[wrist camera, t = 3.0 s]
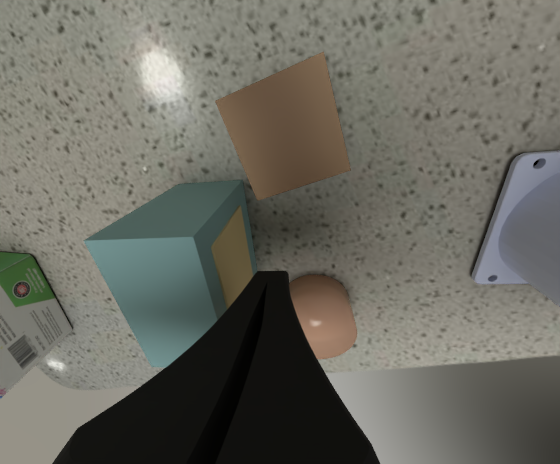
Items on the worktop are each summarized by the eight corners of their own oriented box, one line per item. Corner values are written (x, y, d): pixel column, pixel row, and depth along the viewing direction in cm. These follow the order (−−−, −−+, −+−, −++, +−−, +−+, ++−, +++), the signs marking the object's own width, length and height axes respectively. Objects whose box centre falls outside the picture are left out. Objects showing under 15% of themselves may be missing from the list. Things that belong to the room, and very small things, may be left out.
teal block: (244, 179, 14) (196, 236, 8) (259, 275, 17) (234, 369, 11) (177, 183, 14) (80, 240, 8) (204, 275, 18) (149, 366, 11)
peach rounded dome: (349, 272, 16) (359, 304, 14) (347, 323, 19) (355, 359, 16) (278, 275, 17) (273, 306, 14) (284, 324, 19) (282, 358, 16)
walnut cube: (317, 69, 11) (323, 51, 8) (337, 153, 13) (350, 170, 9) (241, 103, 12) (215, 101, 8) (269, 176, 14) (257, 200, 10)
